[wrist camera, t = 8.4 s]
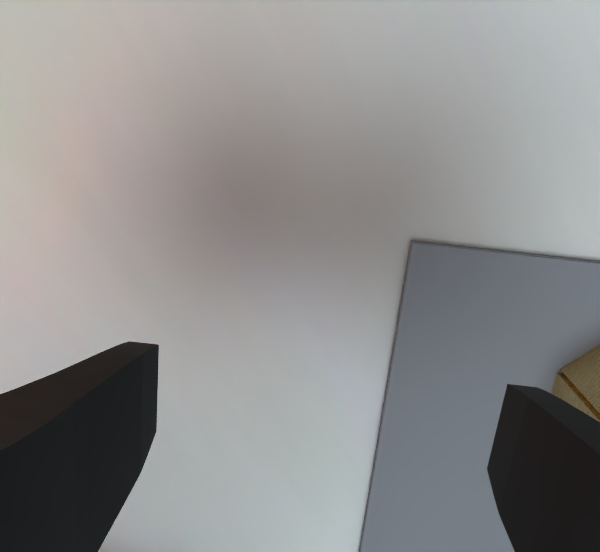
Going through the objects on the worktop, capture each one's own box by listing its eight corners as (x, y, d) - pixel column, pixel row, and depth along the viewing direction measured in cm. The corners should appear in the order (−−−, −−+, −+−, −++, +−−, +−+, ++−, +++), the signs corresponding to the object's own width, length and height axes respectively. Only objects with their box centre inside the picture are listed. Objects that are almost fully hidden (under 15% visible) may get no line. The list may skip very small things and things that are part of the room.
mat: (645, 596, 25) (650, 604, 24) (357, 563, 25) (357, 570, 24) (764, 279, 20) (772, 282, 20) (410, 240, 20) (412, 243, 20)
